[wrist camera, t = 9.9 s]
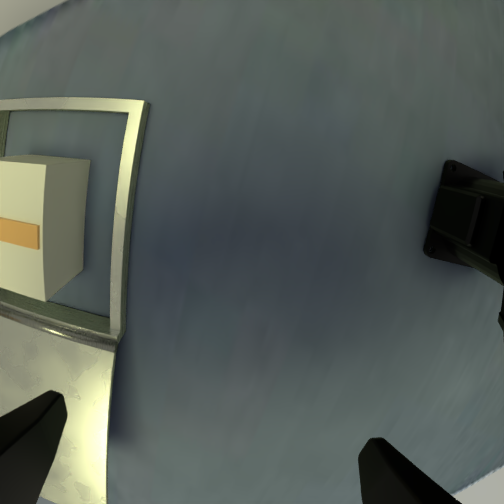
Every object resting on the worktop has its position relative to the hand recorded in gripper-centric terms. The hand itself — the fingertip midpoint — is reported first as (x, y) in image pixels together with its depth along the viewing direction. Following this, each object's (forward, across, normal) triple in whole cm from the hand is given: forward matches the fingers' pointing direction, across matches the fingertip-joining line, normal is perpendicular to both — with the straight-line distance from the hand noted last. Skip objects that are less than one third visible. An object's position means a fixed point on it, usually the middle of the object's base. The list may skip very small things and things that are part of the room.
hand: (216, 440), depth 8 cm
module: (+12, +12, -2) cm, 17 cm away
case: (+12, +12, +4) cm, 18 cm away
